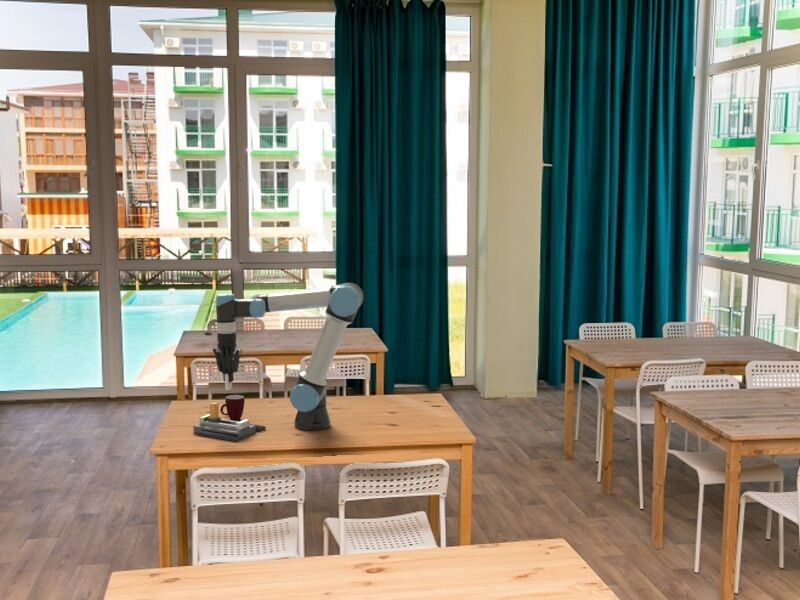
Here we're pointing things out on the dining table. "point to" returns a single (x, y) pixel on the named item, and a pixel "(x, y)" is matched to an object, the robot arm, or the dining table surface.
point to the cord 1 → (218, 435)
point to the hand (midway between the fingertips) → (228, 389)
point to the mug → (234, 406)
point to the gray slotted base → (226, 427)
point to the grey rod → (258, 428)
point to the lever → (214, 413)
